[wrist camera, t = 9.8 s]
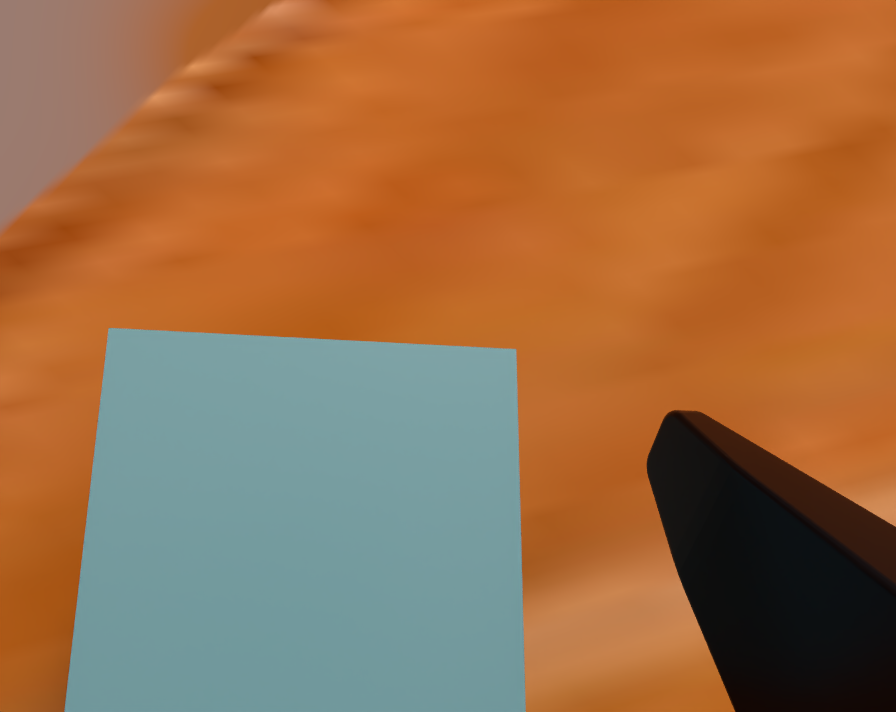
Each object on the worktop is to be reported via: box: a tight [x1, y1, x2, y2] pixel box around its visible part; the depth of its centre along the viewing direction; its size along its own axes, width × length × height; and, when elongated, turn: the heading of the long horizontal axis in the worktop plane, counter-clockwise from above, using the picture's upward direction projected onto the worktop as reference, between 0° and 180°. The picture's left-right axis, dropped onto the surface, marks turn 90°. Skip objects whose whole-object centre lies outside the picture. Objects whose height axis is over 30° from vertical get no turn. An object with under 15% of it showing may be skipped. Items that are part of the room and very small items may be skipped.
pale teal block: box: [64, 328, 526, 712], centre depth 12 cm, size 5×5×9 cm
